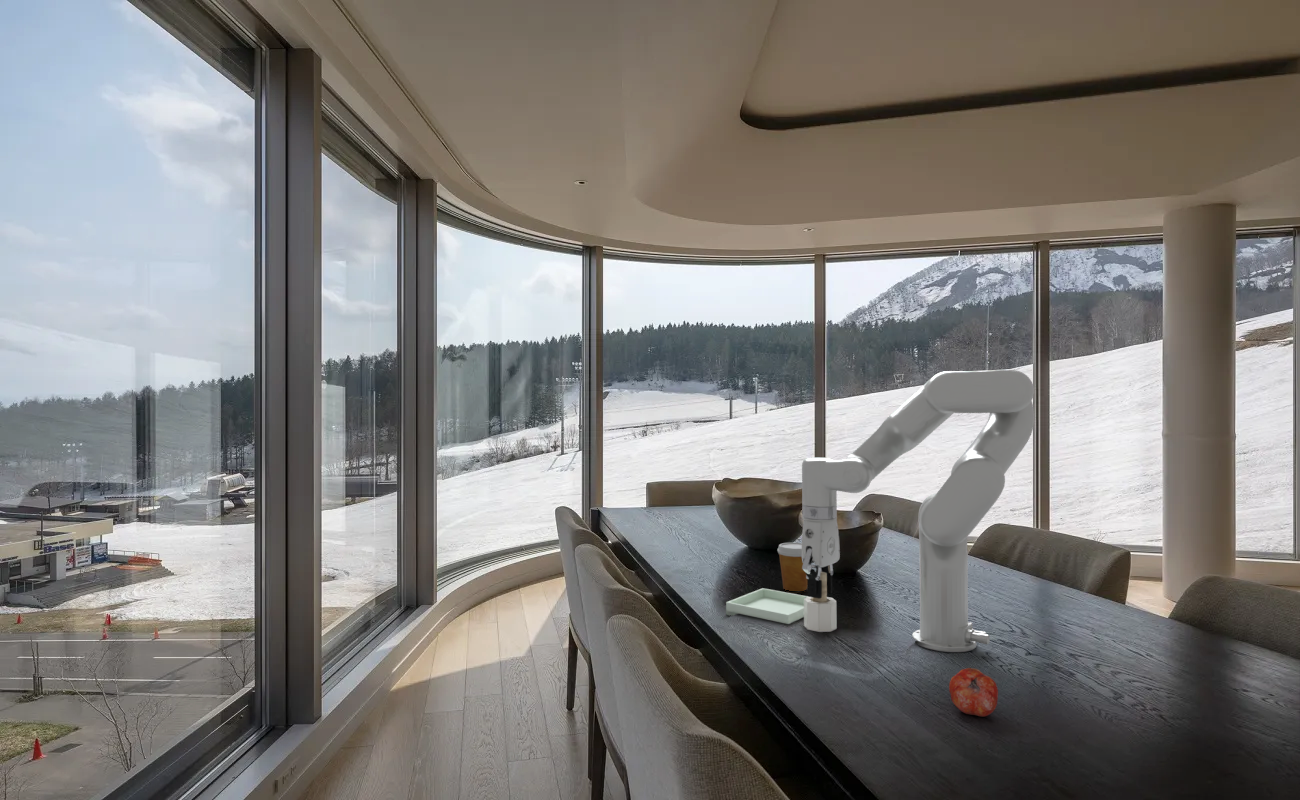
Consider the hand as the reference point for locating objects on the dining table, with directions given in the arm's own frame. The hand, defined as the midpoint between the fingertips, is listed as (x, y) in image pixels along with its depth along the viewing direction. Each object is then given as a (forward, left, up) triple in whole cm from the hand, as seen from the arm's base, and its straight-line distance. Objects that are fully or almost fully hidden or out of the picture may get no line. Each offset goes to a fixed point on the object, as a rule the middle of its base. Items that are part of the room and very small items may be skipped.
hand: (819, 594), depth 163 cm
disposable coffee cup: (+22, -29, -9) cm, 37 cm away
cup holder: (0, 0, -8) cm, 8 cm away
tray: (+15, -6, -8) cm, 18 cm away
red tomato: (-39, +23, -9) cm, 46 cm away
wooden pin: (0, 0, -7) cm, 7 cm away
